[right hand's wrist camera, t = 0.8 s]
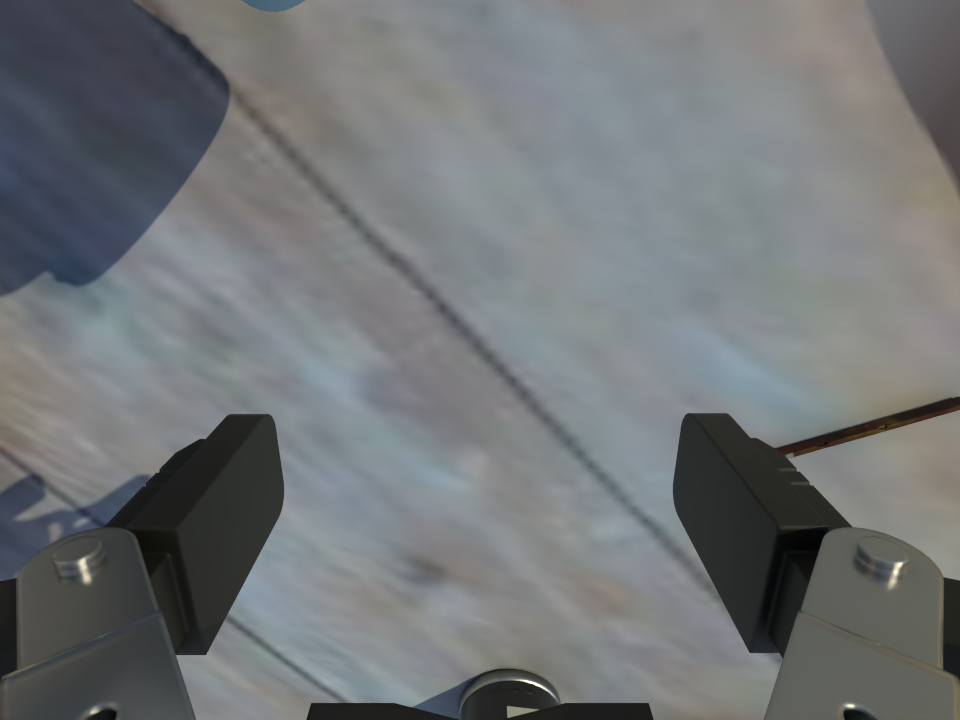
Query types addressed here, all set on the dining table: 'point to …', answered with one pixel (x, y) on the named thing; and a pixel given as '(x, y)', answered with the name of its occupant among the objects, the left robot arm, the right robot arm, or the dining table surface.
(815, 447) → the brown wooden stick
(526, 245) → the dining table surface
